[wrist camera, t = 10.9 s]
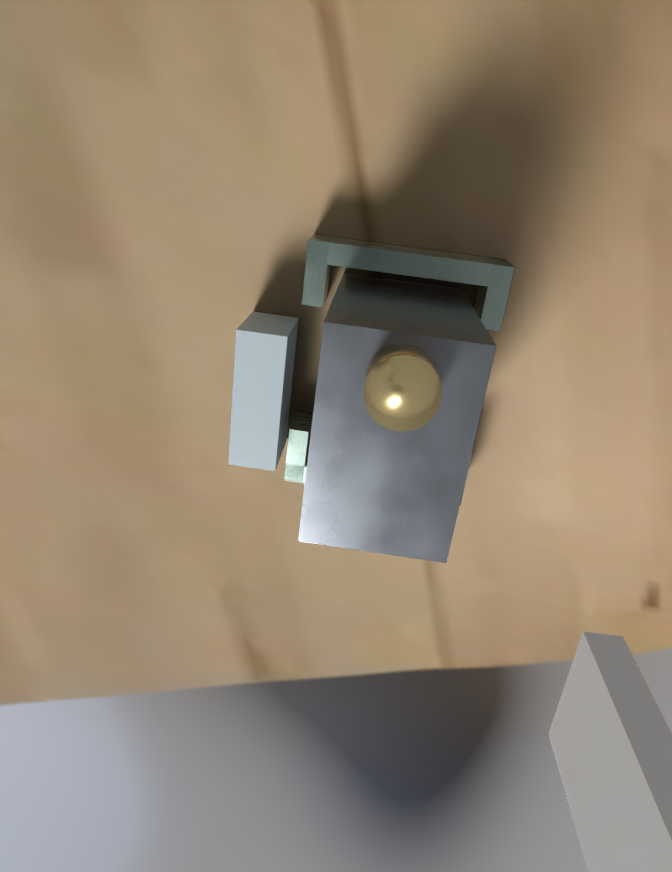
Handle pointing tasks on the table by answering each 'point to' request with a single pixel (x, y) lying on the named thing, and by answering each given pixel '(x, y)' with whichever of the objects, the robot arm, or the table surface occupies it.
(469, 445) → the grey box with knob
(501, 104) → the table surface
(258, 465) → the light grey rectangular block
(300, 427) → the socket
